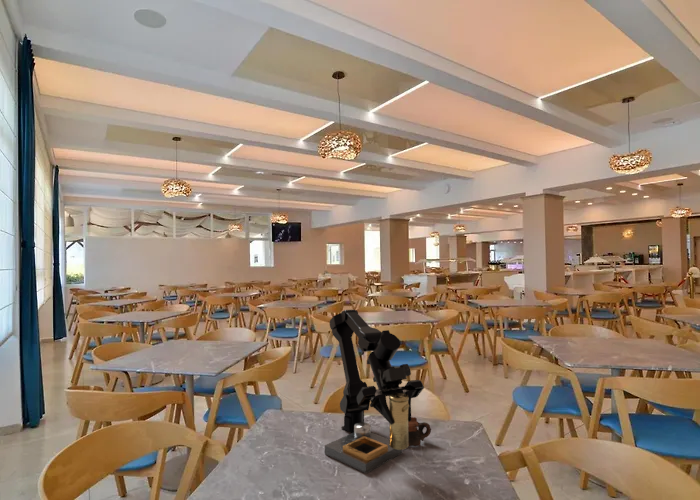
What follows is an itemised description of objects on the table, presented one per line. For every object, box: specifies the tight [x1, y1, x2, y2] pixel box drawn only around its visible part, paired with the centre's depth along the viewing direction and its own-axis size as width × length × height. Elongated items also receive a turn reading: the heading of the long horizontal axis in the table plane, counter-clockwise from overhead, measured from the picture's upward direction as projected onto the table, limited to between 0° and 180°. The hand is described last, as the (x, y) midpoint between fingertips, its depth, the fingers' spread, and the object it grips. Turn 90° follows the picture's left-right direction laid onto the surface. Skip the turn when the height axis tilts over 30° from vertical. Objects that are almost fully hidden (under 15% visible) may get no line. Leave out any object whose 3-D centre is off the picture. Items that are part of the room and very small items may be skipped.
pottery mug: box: [408, 416, 432, 447], centre depth 128 cm, size 12×10×8 cm
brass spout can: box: [388, 393, 409, 451], centre depth 108 cm, size 8×5×13 cm
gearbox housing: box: [324, 421, 403, 474], centre depth 119 cm, size 16×16×6 cm
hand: (401, 422), depth 108 cm, fingers closed on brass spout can, 5 cm apart
